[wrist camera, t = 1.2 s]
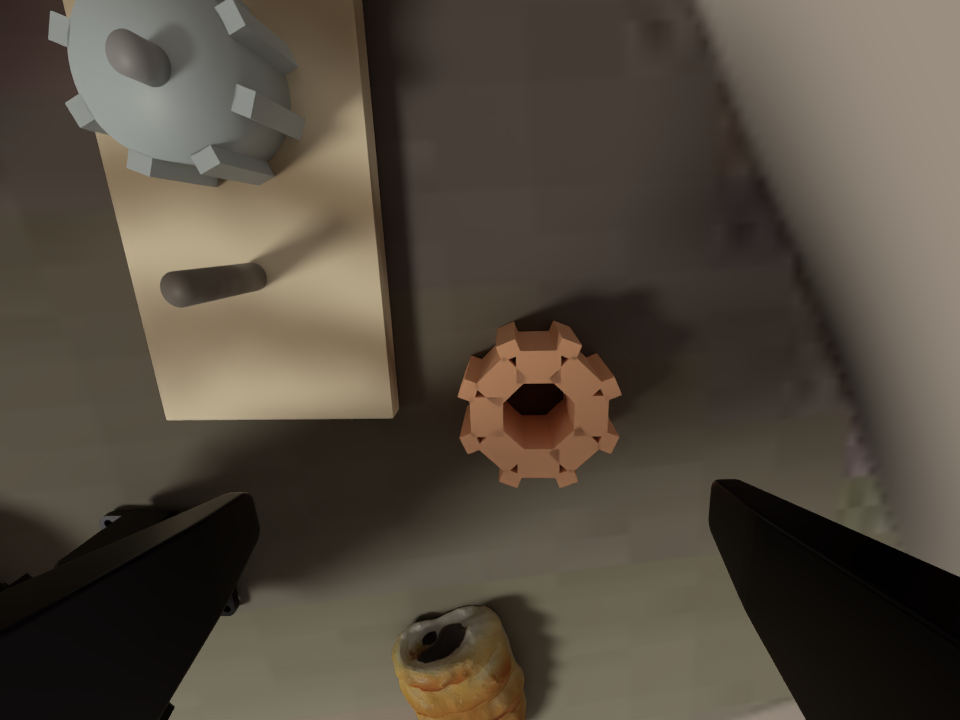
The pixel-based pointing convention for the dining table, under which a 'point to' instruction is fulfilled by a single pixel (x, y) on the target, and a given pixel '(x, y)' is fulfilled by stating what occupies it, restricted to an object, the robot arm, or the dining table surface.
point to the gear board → (272, 251)
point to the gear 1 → (181, 85)
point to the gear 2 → (538, 438)
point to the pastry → (460, 668)
